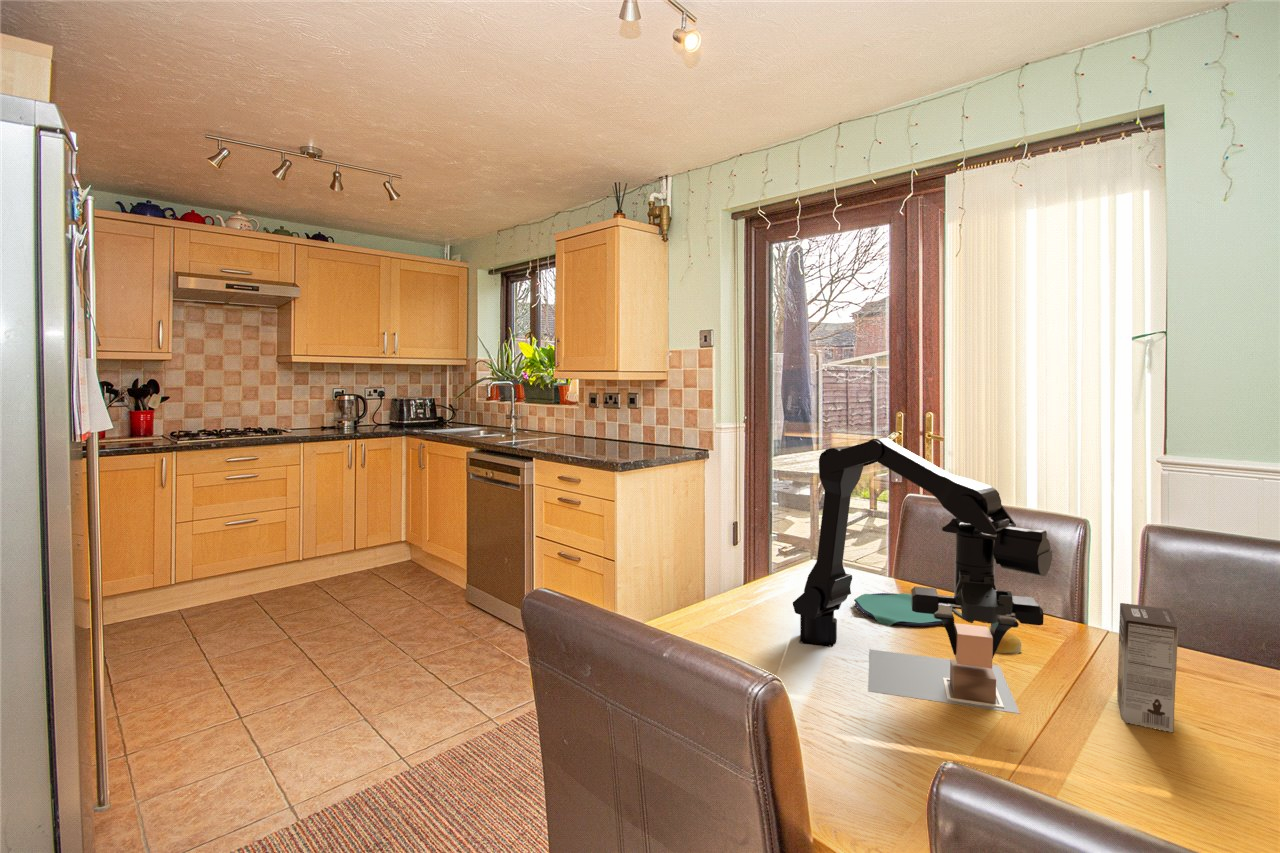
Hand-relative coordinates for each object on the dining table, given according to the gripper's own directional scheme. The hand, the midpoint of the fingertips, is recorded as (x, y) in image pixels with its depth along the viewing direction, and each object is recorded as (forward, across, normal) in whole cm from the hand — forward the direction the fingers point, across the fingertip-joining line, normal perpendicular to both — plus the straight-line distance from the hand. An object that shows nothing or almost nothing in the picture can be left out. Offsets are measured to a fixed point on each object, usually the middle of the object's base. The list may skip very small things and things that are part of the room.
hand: (972, 656), depth 105 cm
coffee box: (+7, +24, +2) cm, 25 cm away
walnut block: (+6, 0, 0) cm, 6 cm away
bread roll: (+7, +7, +24) cm, 26 cm away
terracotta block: (+1, 0, 0) cm, 1 cm away
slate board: (+7, -5, +4) cm, 9 cm away
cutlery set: (+8, -5, +40) cm, 41 cm away
